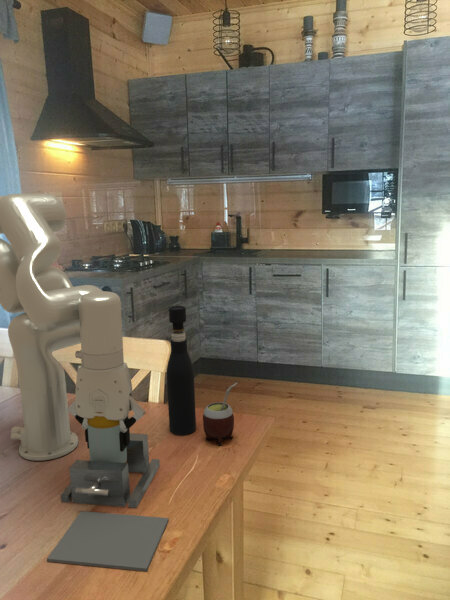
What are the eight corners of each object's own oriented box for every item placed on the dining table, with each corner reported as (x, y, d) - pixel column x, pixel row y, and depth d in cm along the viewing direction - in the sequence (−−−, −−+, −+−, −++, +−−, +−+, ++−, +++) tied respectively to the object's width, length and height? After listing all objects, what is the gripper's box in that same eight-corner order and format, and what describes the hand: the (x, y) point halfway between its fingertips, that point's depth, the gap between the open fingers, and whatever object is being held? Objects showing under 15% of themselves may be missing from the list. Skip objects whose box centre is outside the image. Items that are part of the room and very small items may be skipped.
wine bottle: (164, 433, 117) (158, 309, 112) (176, 422, 123) (170, 304, 117) (189, 437, 115) (184, 311, 109) (200, 425, 121) (195, 305, 115)
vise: (54, 510, 89) (50, 474, 88) (93, 461, 106) (91, 431, 104) (131, 516, 87) (129, 480, 86) (159, 465, 103) (157, 434, 102)
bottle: (118, 477, 93) (114, 403, 90) (84, 473, 95) (78, 400, 91) (132, 458, 100) (129, 388, 97) (100, 454, 101) (95, 386, 98)
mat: (47, 561, 77) (46, 558, 76) (81, 513, 88) (81, 510, 88) (146, 571, 74) (146, 568, 74) (168, 520, 86) (168, 518, 85)
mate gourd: (203, 433, 117) (201, 372, 114) (236, 431, 118) (235, 371, 115) (204, 448, 110) (201, 384, 107) (239, 446, 110) (238, 382, 107)
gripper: (49, 362, 90) (57, 452, 94) (140, 367, 88) (144, 460, 92) (69, 349, 97) (75, 434, 101) (153, 354, 95) (156, 440, 99)
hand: (108, 445), depth 96 cm, fingers closed on bottle, 5 cm apart
